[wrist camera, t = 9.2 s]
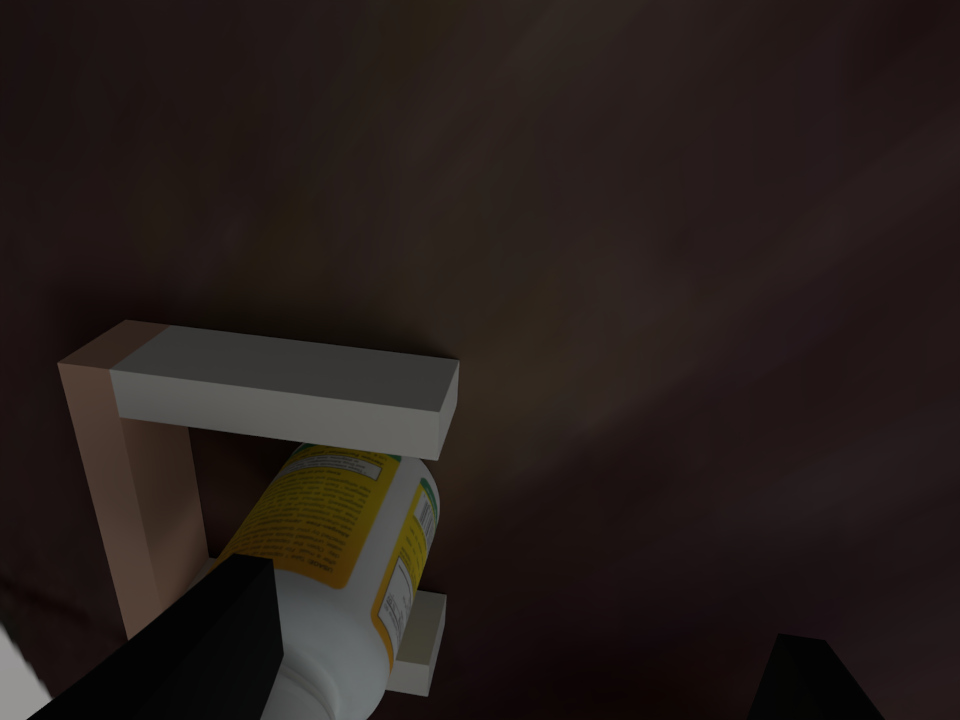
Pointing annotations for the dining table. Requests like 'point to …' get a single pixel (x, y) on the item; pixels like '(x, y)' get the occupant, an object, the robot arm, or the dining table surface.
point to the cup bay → (245, 410)
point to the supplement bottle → (340, 573)
